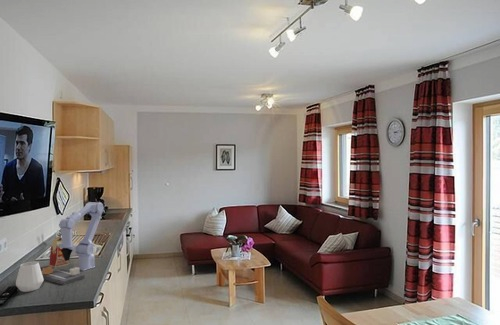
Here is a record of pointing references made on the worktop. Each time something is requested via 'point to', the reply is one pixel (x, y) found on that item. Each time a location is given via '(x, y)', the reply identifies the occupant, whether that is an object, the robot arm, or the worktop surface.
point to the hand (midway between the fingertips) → (67, 260)
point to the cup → (29, 277)
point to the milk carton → (57, 254)
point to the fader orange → (48, 270)
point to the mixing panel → (62, 276)
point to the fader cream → (74, 271)
